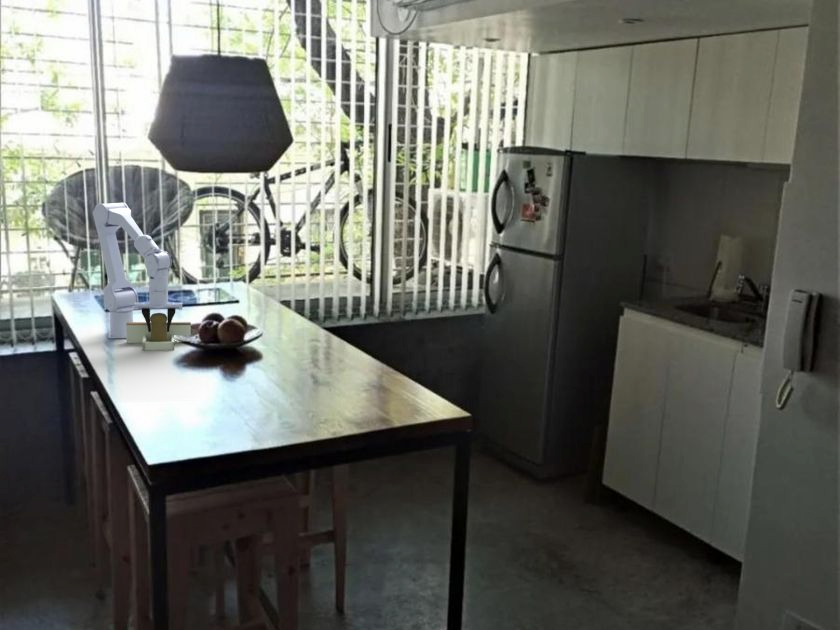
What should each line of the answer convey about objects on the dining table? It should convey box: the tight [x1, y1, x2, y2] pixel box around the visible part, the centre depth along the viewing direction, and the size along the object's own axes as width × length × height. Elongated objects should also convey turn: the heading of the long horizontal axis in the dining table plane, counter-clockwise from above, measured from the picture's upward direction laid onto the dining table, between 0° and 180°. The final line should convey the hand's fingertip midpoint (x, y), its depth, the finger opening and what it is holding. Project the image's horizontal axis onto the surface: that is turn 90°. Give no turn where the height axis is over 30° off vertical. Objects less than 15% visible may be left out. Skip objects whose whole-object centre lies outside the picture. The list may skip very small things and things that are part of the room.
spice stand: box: [126, 321, 192, 351], centre depth 265 cm, size 10×20×7 cm, turn 106°
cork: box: [150, 312, 168, 342], centre depth 264 cm, size 6×6×11 cm
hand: (158, 331), depth 264 cm, fingers closed on cork, 5 cm apart
